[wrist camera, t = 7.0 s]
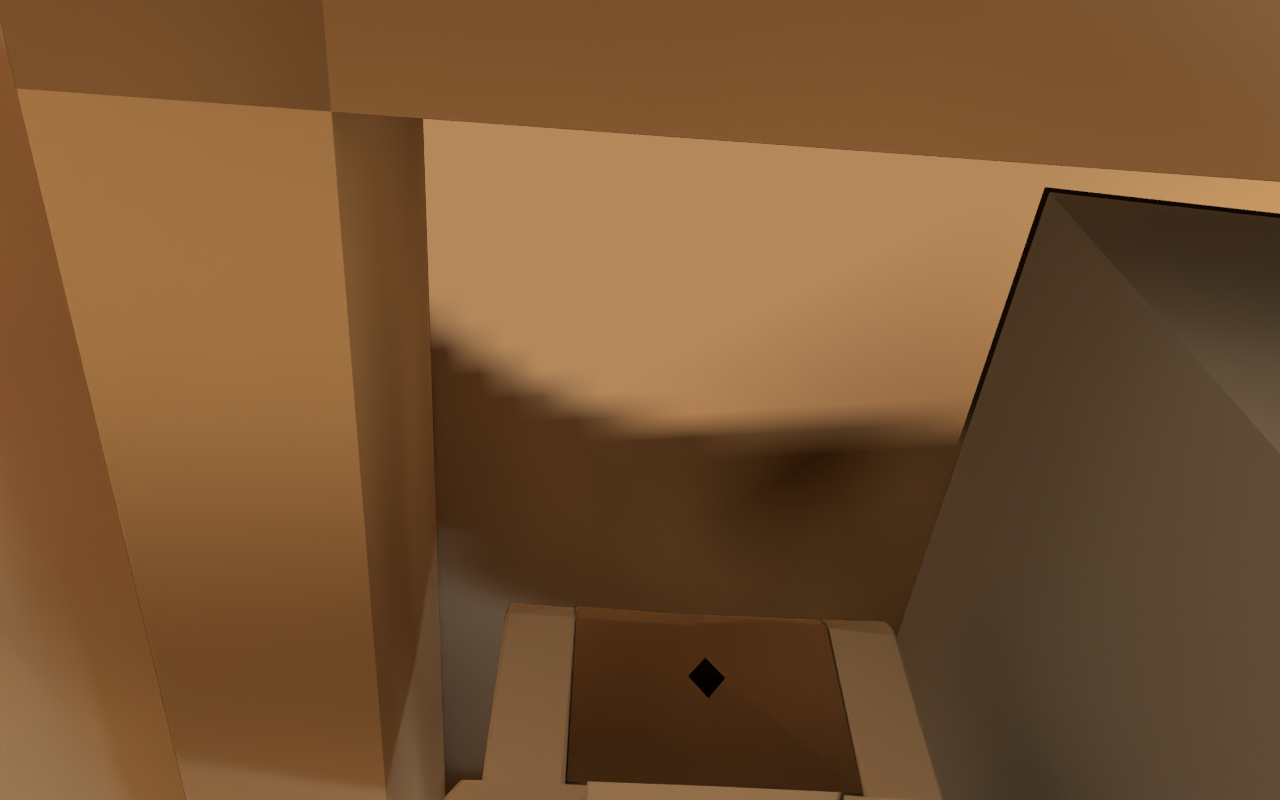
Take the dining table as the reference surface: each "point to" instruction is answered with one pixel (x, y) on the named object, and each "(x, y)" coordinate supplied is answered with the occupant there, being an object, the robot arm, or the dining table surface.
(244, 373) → the beige c-shaped frame
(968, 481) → the block
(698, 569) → the dining table surface
